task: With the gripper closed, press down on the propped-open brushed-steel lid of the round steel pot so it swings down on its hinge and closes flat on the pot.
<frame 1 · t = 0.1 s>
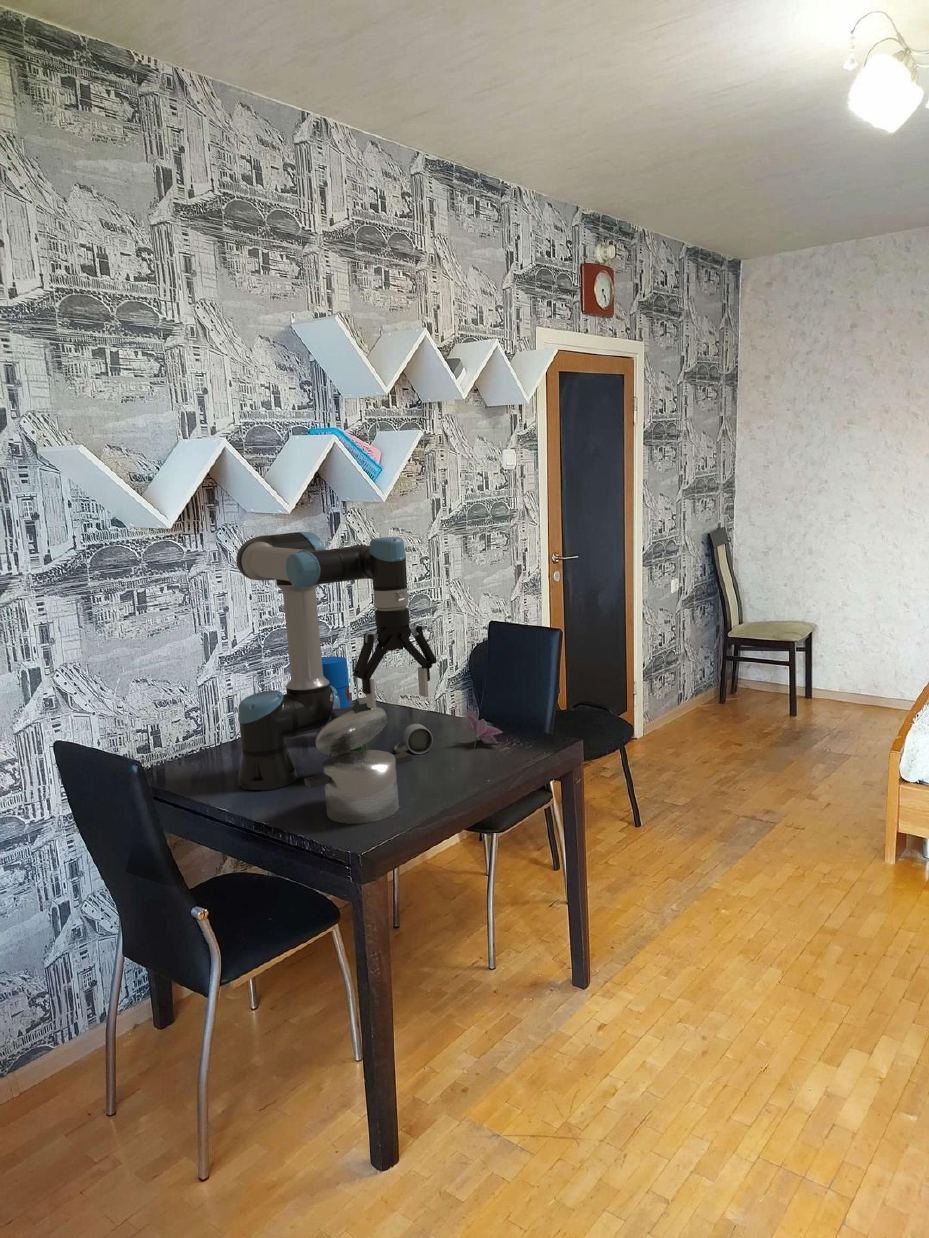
hand: (398, 701, 197), 28 cm above the table, tool pointing down, fingers open, 13 cm apart
pot lid: (352, 723, 208), point 21 cm above the table, hinge at 45.0°
ceramic mug: (413, 751, 253), on the table
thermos: (335, 741, 267), on the table
coffee jar: (352, 775, 235), on the table
lily: (482, 746, 254), on the table
steel pot: (363, 809, 210), on the table
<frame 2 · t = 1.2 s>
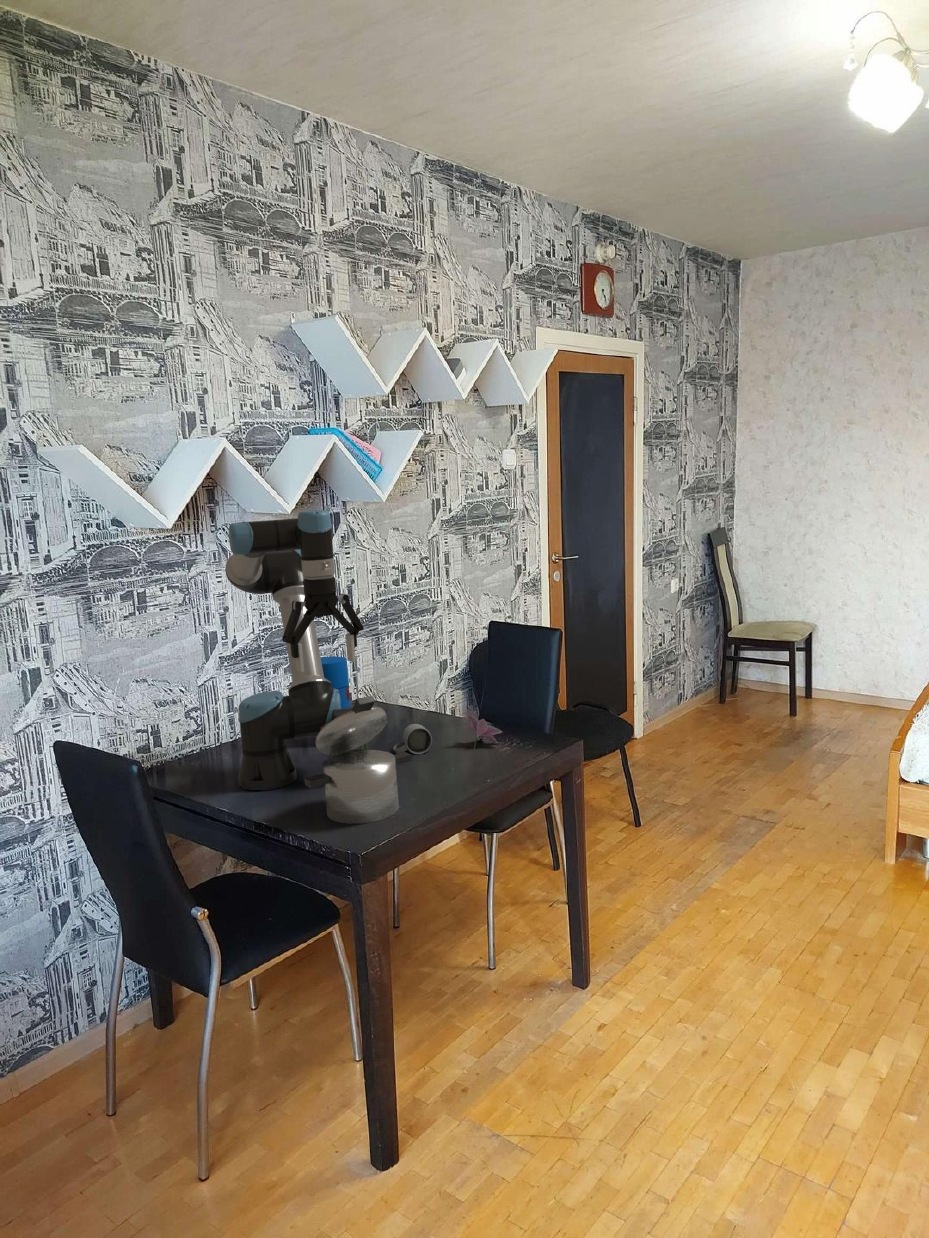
hand: (326, 666, 209), 34 cm above the table, tool pointing down, fingers open, 13 cm apart
coffee jar: (352, 773, 235), on the table, touching arm
everything else where it was.
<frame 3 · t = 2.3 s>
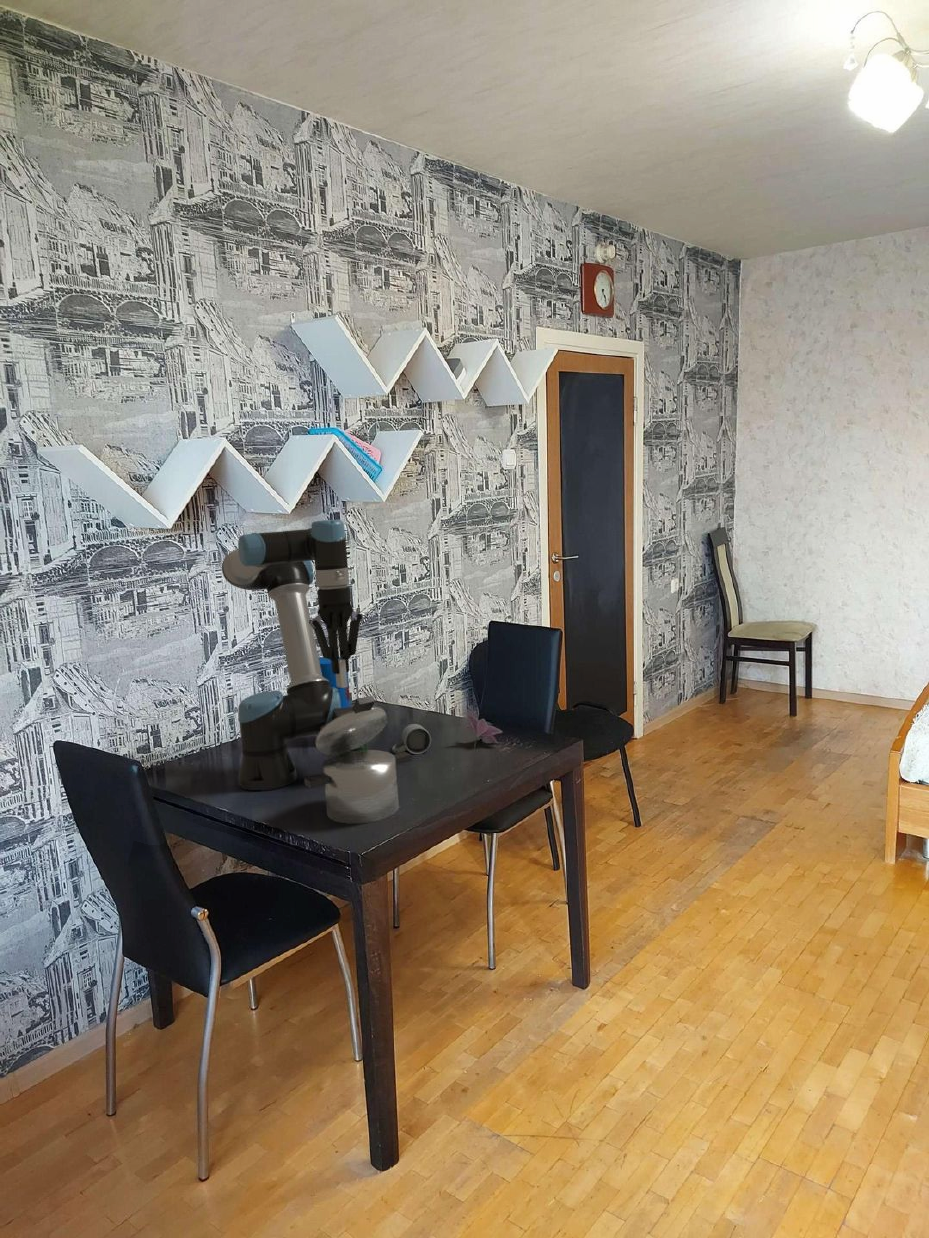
hand: (342, 686, 207), 30 cm above the table, tool pointing down, fingers closed
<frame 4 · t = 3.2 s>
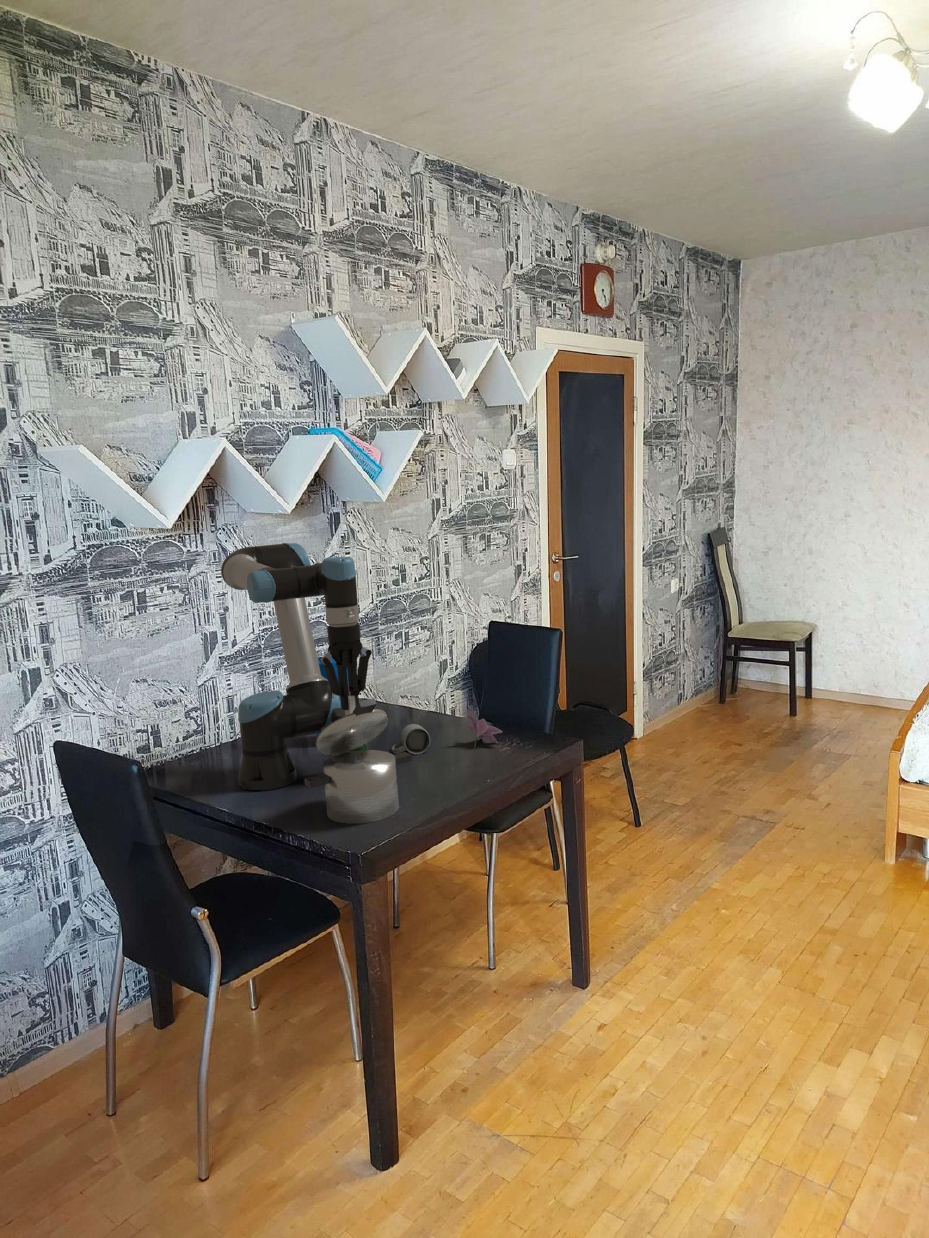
hand: (351, 722, 208), 21 cm above the table, tool pointing down, fingers closed
pot lid: (352, 724, 208), point 21 cm above the table, hinge at 42.9°
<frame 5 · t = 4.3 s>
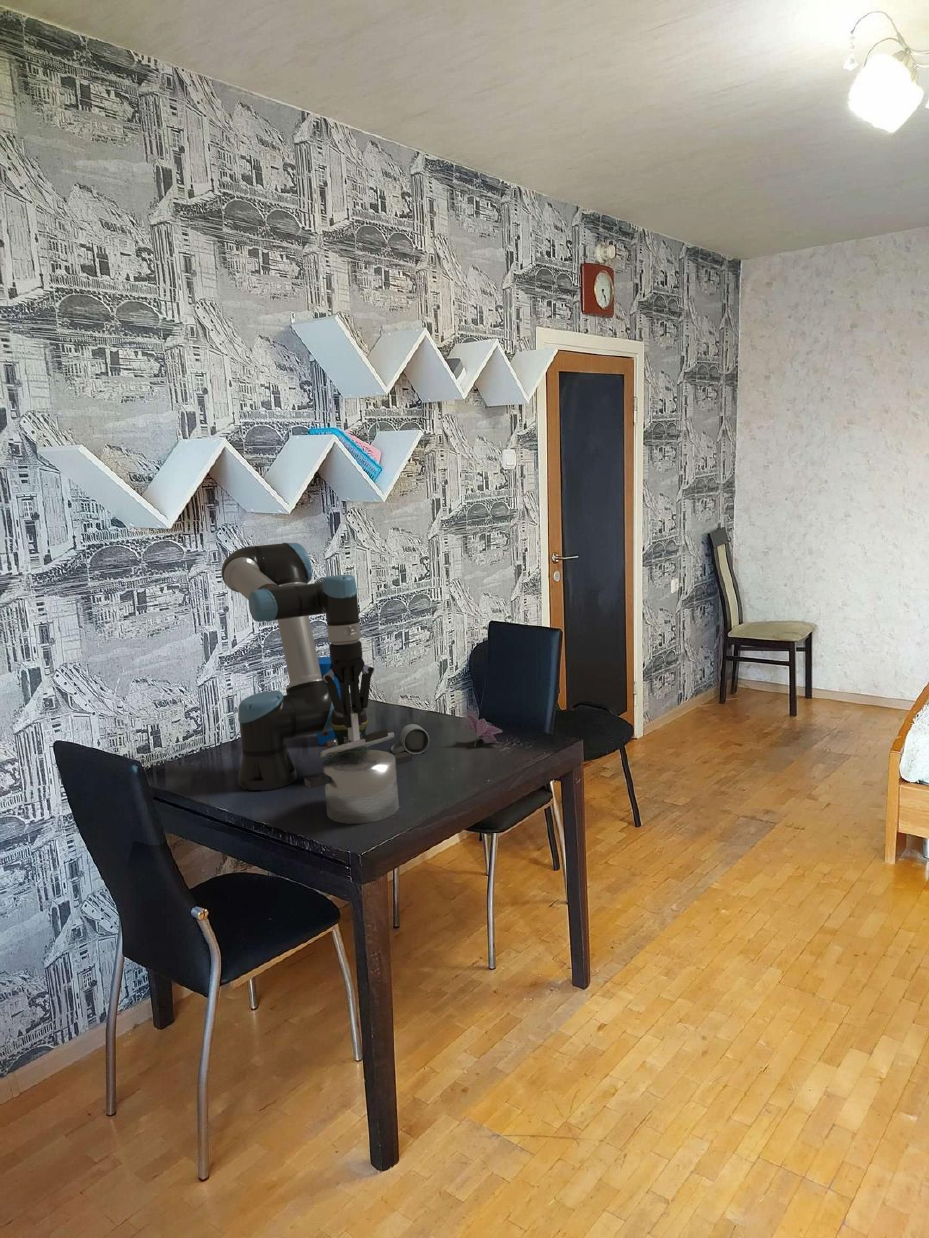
hand: (354, 739, 208), 17 cm above the table, tool pointing down, fingers closed
pot lid: (359, 739, 206), point 18 cm above the table, hinge at 21.4°, touching gripper
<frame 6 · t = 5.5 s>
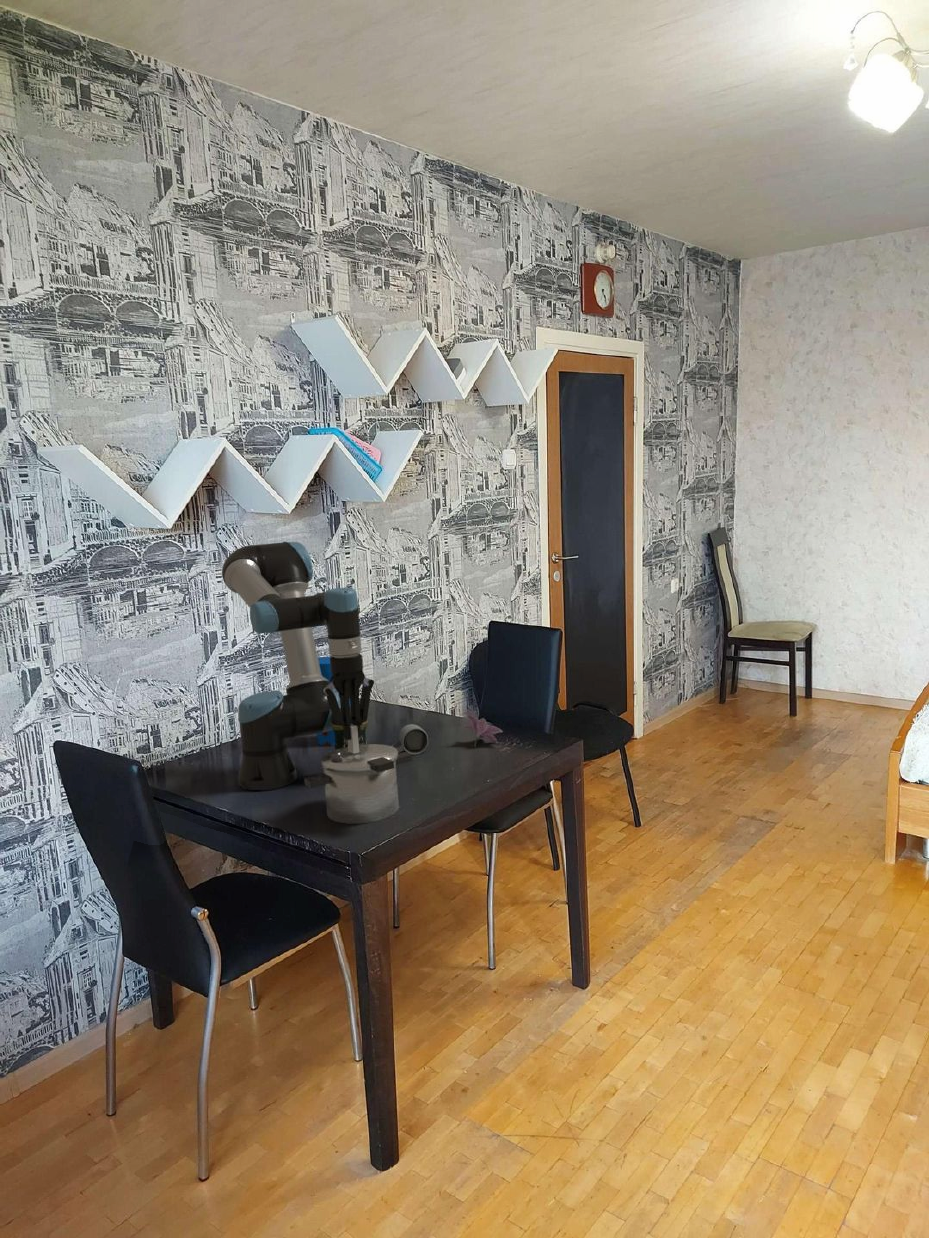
hand: (353, 751, 210), 14 cm above the table, tool pointing down, fingers closed
pot lid: (362, 754, 206), point 14 cm above the table, hinge at 1.9°, touching gripper
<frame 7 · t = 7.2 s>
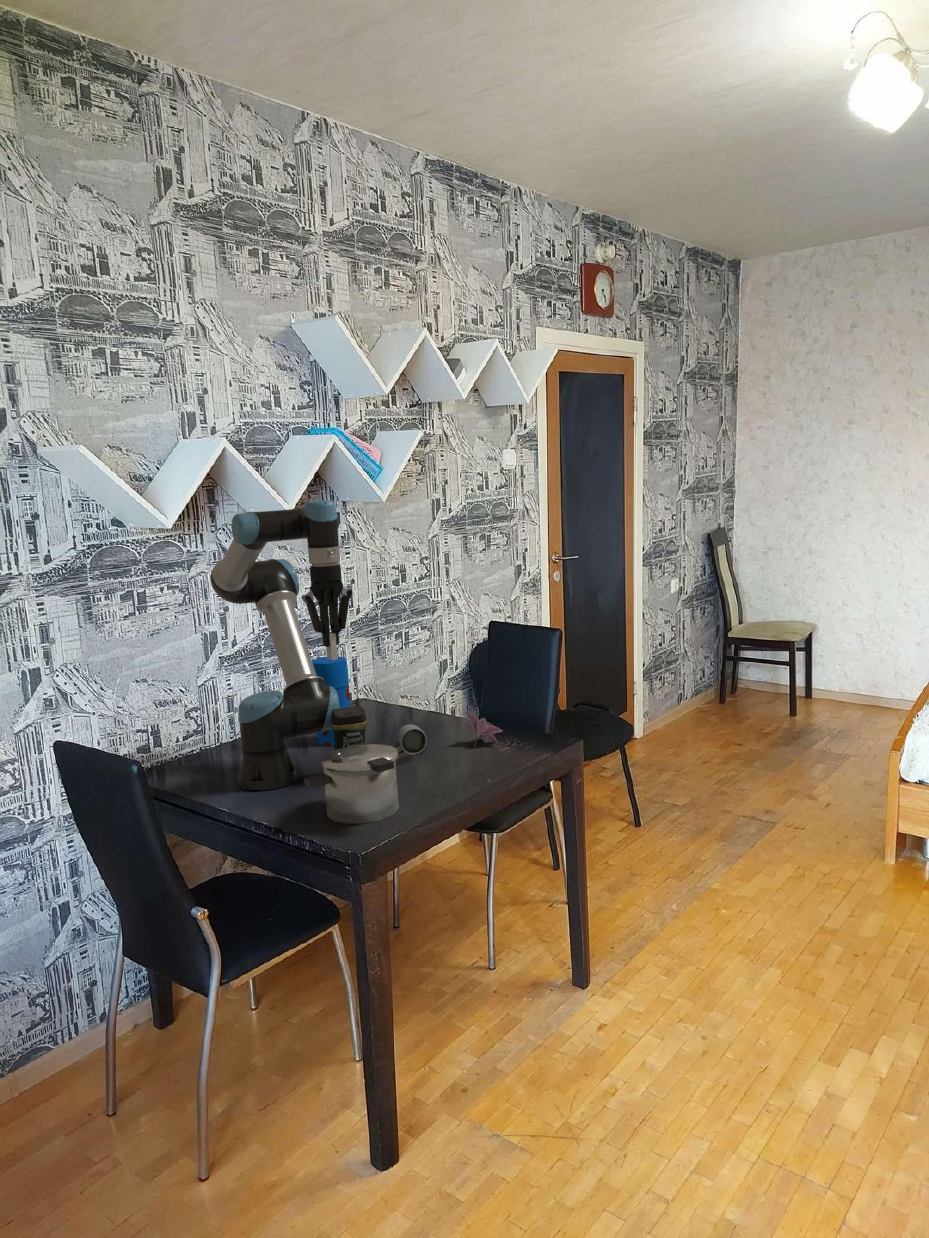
hand: (332, 658, 219), 34 cm above the table, tool pointing down, fingers closed
pot lid: (362, 755, 206), point 14 cm above the table, hinge at 1.9°
coffee jar: (352, 775, 235), on the table
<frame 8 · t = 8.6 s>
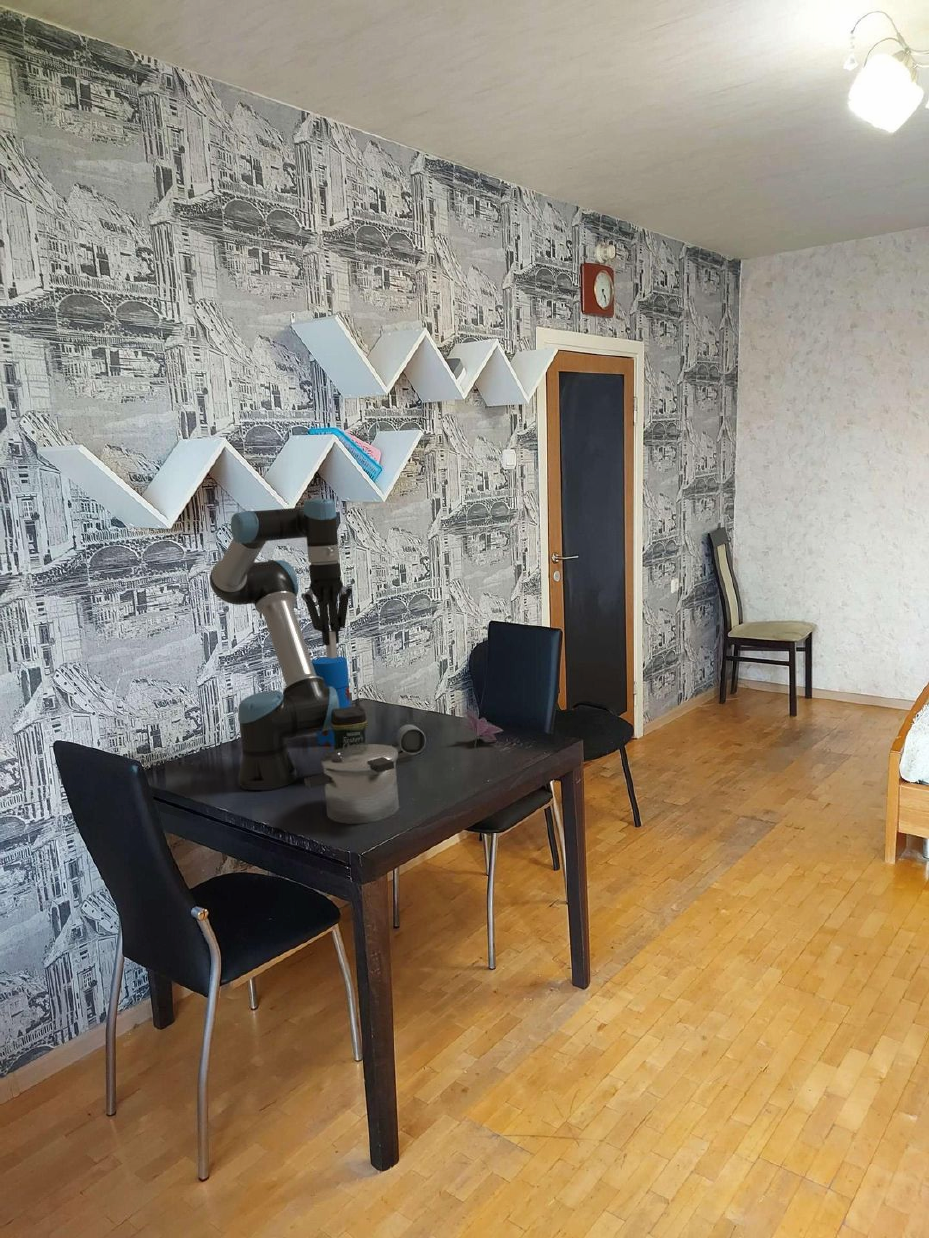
hand: (332, 657, 219), 34 cm above the table, tool pointing down, fingers closed
at the end: pot lid at +2° (first picture: +45°) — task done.
